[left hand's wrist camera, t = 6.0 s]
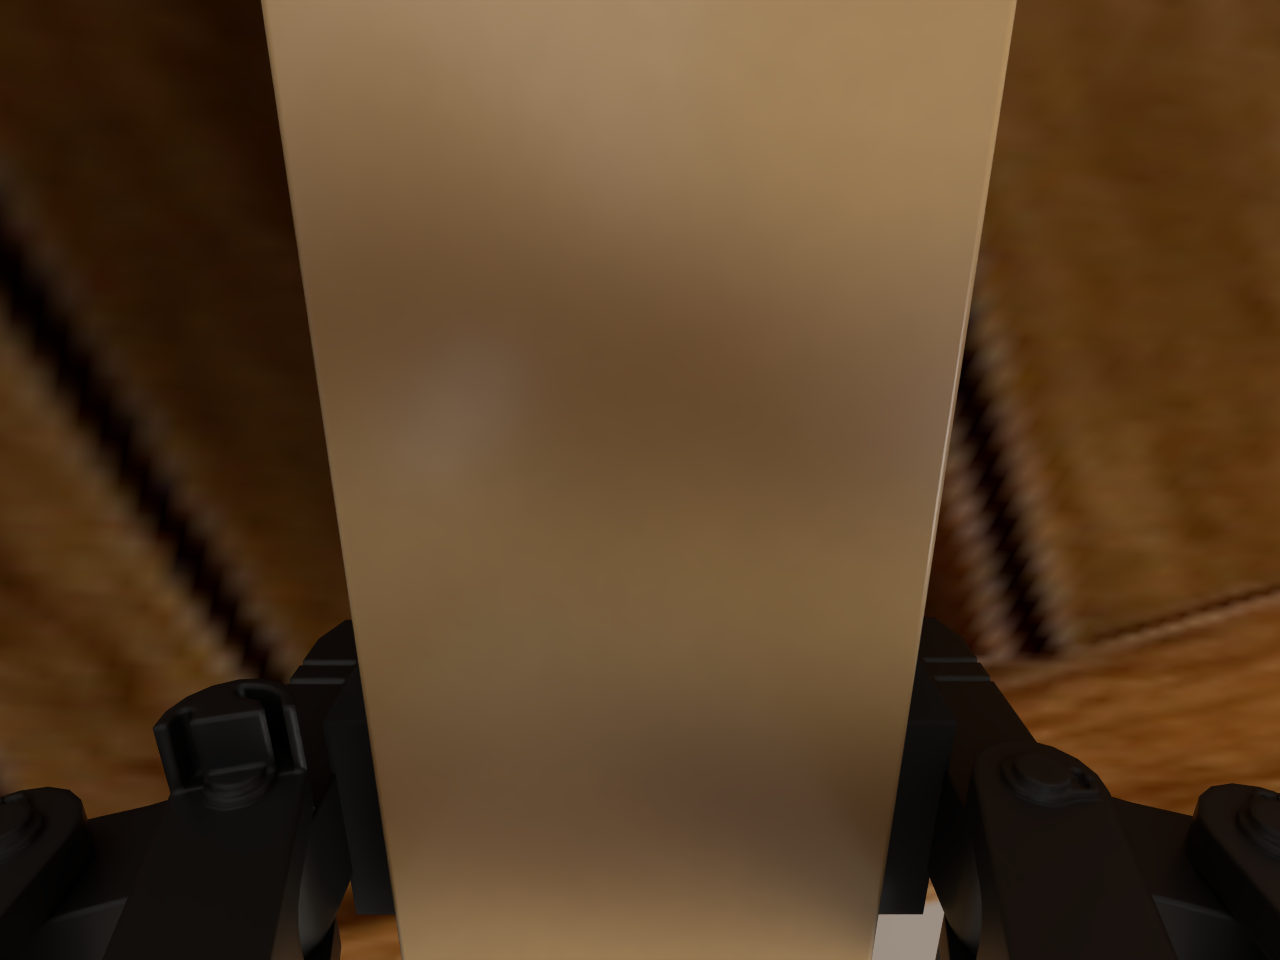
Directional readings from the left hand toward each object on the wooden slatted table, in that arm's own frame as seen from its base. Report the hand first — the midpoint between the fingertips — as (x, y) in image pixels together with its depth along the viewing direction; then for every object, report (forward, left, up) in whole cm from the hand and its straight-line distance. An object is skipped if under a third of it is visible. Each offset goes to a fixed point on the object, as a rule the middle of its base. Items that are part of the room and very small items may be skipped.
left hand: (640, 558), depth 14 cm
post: (-20, +9, -1) cm, 22 cm away
